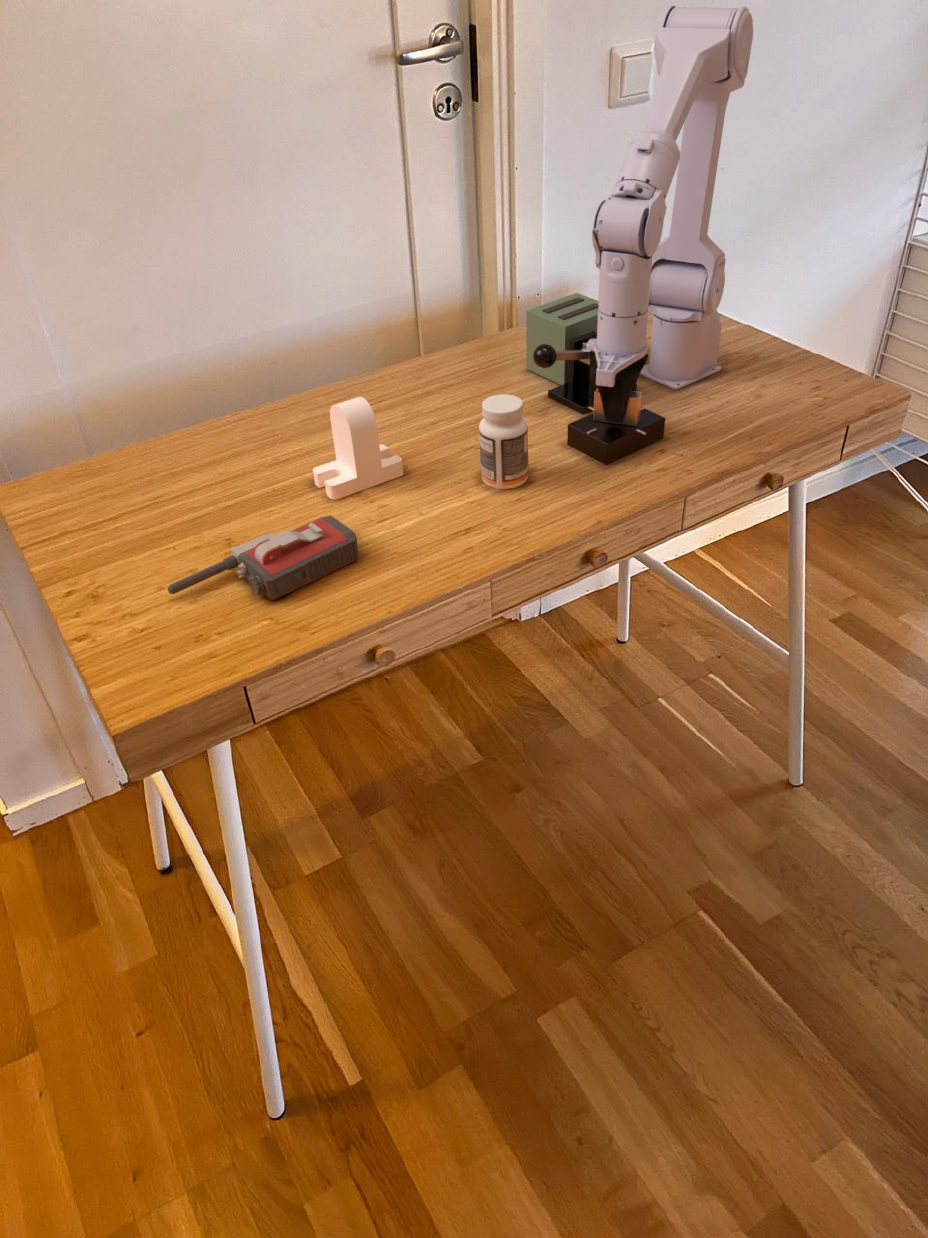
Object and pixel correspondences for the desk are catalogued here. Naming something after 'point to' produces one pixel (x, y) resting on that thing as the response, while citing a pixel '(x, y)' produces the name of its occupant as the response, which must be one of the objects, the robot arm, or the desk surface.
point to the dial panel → (614, 436)
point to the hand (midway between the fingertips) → (616, 416)
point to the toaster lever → (559, 355)
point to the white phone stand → (356, 452)
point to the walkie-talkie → (285, 558)
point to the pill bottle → (503, 442)
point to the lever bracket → (578, 380)
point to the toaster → (559, 330)
